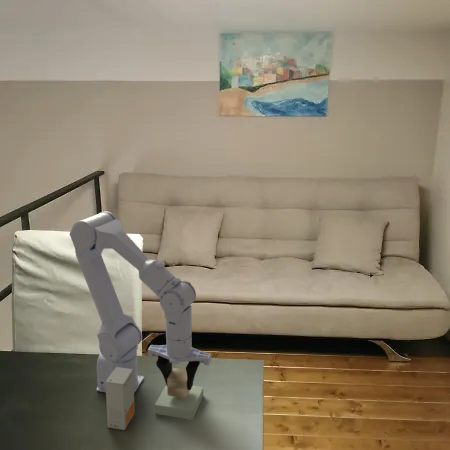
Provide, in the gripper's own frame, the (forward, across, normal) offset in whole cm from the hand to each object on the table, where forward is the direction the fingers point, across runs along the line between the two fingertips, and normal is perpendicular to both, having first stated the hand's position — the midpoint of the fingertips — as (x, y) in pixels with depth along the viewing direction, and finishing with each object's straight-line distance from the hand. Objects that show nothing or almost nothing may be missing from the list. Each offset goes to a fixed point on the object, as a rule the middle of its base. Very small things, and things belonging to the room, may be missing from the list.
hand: (179, 385), depth 117 cm
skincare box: (+6, -11, -8) cm, 15 cm away
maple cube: (+2, 0, 0) cm, 2 cm away
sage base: (+5, 0, 0) cm, 5 cm away
